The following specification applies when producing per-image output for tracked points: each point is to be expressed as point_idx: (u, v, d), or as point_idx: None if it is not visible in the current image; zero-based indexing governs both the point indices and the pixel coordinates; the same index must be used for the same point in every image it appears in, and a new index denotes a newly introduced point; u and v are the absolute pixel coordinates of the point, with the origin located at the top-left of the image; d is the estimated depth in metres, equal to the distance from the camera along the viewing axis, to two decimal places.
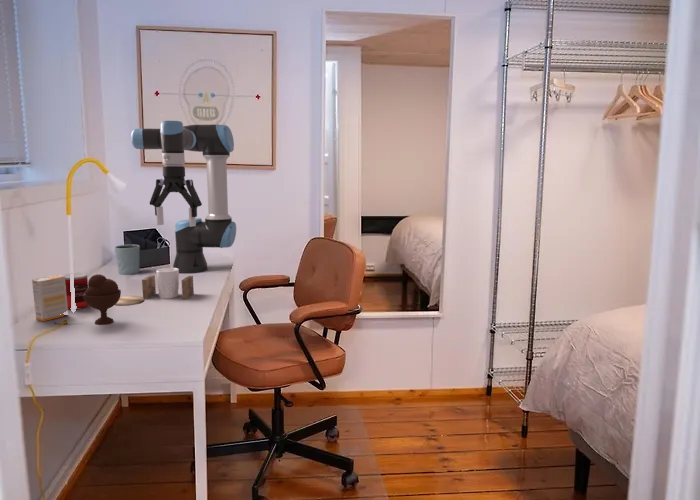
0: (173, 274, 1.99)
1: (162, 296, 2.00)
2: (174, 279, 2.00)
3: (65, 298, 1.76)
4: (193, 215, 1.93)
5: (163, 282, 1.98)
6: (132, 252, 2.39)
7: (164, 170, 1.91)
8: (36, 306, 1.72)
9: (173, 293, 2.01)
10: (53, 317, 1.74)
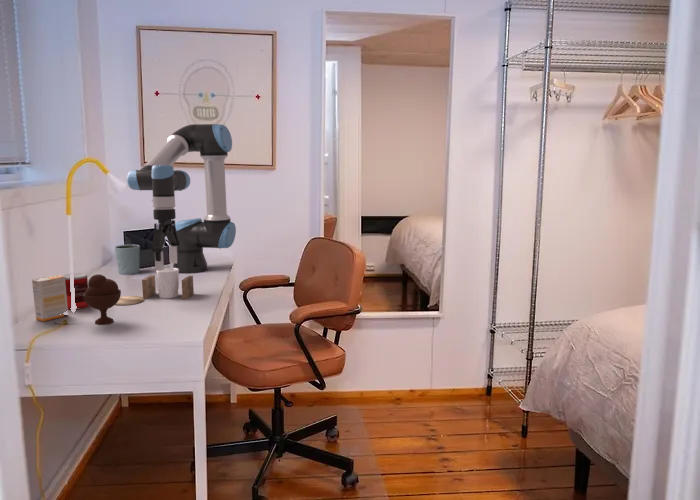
0: (173, 274, 1.99)
1: (162, 296, 2.00)
2: (174, 279, 2.00)
3: (65, 298, 1.76)
4: None
5: (163, 282, 1.98)
6: (132, 252, 2.39)
7: None
8: (36, 306, 1.72)
9: (173, 293, 2.01)
10: (53, 317, 1.74)
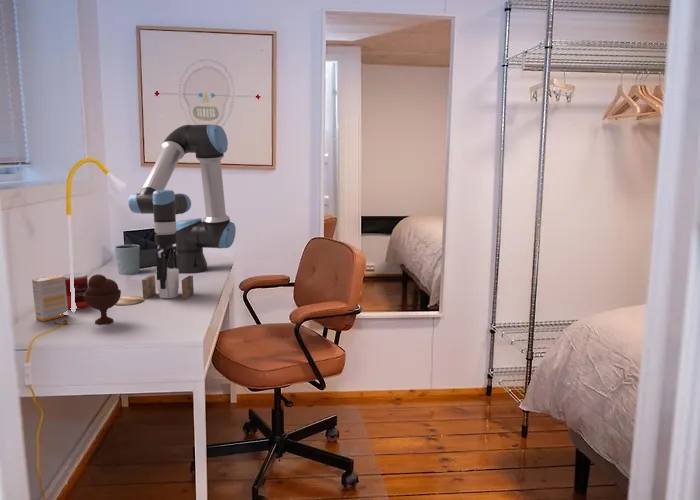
0: (173, 274, 1.99)
1: None
2: (174, 279, 2.00)
3: (65, 298, 1.76)
4: None
5: None
6: (132, 252, 2.39)
7: None
8: (36, 306, 1.72)
9: (173, 293, 2.01)
10: (53, 317, 1.74)
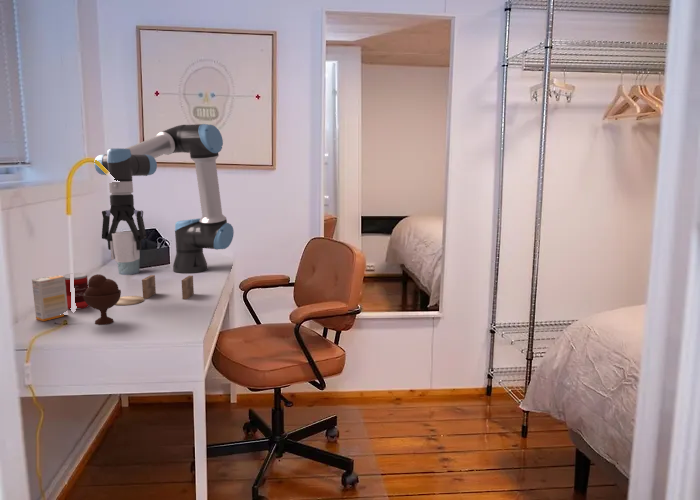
0: None
1: (132, 259, 1.92)
2: None
3: (65, 298, 1.76)
4: (138, 248, 1.92)
5: None
6: None
7: (113, 199, 1.86)
8: (36, 306, 1.72)
9: None
10: (53, 317, 1.74)
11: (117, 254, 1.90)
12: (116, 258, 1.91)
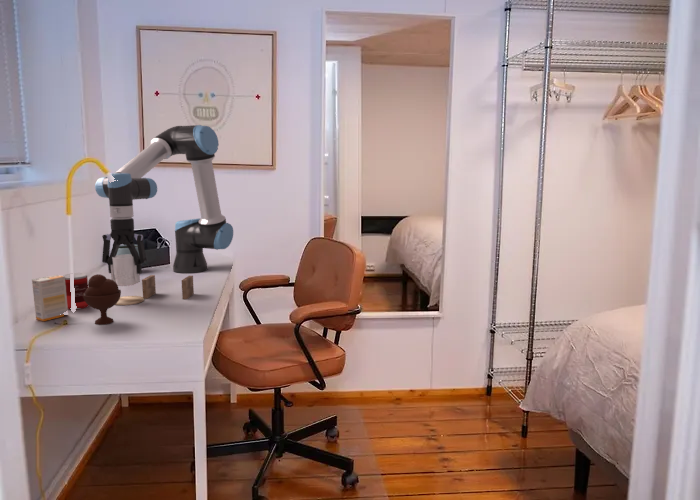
0: None
1: (133, 283, 1.93)
2: None
3: (65, 298, 1.76)
4: (138, 272, 1.93)
5: None
6: None
7: (113, 223, 1.88)
8: (36, 306, 1.72)
9: None
10: (53, 317, 1.74)
11: (117, 278, 1.91)
12: (116, 282, 1.92)
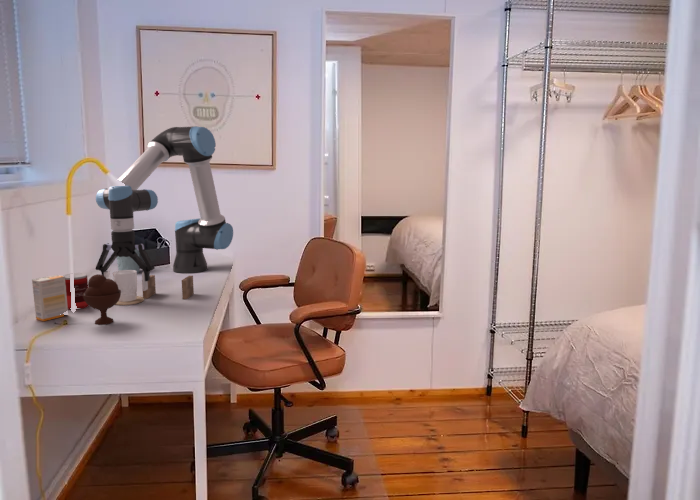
0: None
1: (133, 298, 1.94)
2: None
3: (65, 298, 1.76)
4: (146, 279, 1.93)
5: (135, 283, 1.94)
6: None
7: (114, 236, 1.88)
8: (36, 306, 1.72)
9: None
10: (53, 317, 1.74)
11: None
12: None
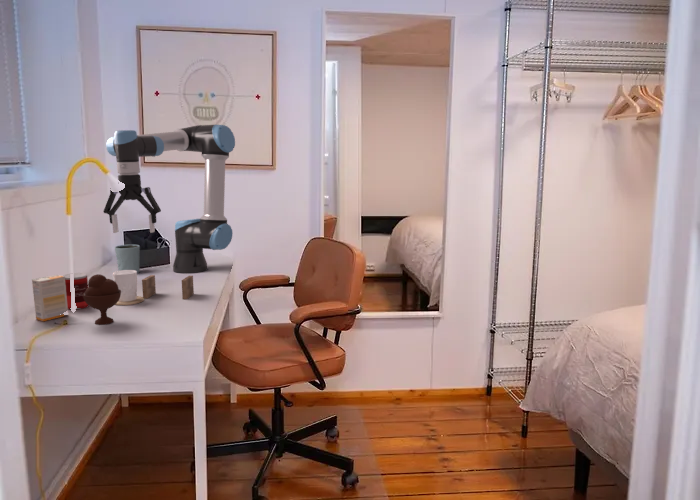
0: None
1: (133, 298, 1.94)
2: None
3: (65, 298, 1.76)
4: (153, 221, 2.01)
5: (135, 283, 1.94)
6: (132, 252, 2.39)
7: (121, 179, 1.95)
8: (36, 306, 1.72)
9: None
10: (53, 317, 1.74)
11: None
12: None
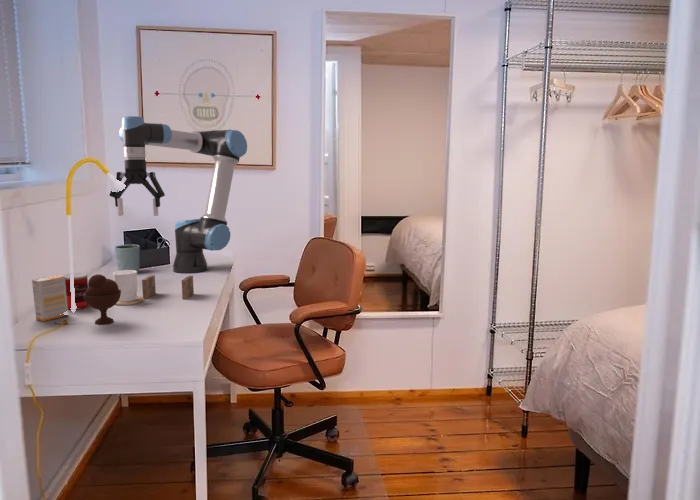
0: None
1: (133, 298, 1.94)
2: None
3: (65, 298, 1.76)
4: (157, 205, 2.07)
5: (135, 283, 1.94)
6: (132, 252, 2.39)
7: (127, 163, 2.02)
8: (36, 306, 1.72)
9: None
10: (53, 317, 1.74)
11: None
12: None
